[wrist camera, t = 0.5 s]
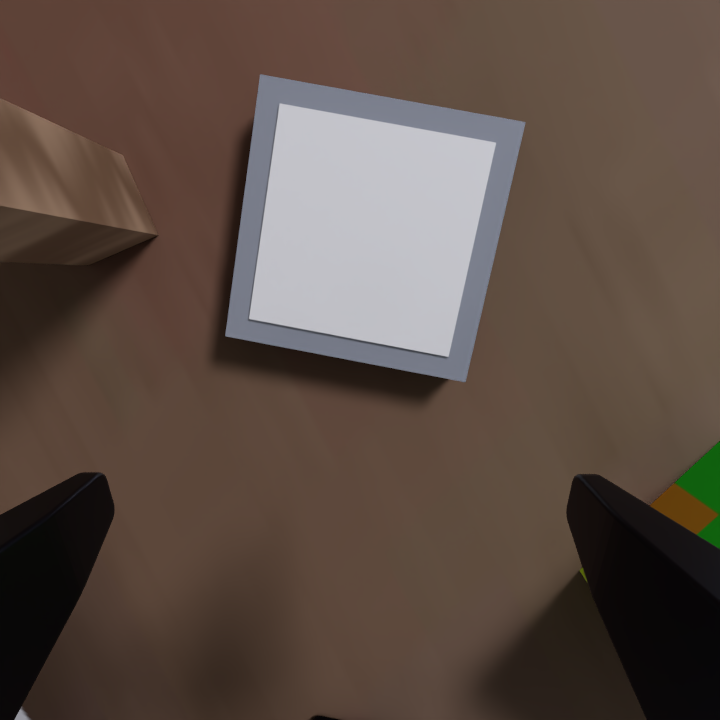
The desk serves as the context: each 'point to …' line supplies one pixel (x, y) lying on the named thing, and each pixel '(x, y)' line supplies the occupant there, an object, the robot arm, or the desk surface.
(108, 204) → the beige rectangular block
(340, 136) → the plinth
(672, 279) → the desk surface
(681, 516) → the puzzle toy
